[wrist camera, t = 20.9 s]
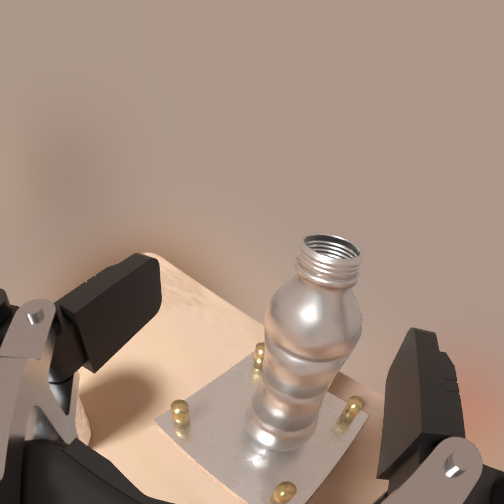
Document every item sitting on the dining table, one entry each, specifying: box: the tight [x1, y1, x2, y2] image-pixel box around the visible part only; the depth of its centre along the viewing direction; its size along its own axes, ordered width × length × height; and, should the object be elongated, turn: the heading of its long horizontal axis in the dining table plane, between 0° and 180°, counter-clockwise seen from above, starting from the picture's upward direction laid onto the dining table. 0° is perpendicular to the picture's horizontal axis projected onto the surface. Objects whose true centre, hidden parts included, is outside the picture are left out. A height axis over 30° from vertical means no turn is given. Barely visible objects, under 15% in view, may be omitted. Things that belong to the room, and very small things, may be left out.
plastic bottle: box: [245, 233, 362, 452], centre depth 22 cm, size 6×7×20 cm
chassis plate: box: [153, 343, 369, 504], centre depth 26 cm, size 16×16×4 cm
